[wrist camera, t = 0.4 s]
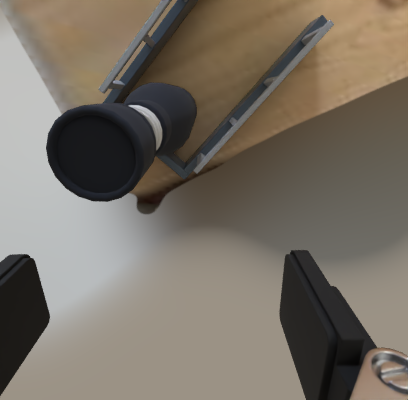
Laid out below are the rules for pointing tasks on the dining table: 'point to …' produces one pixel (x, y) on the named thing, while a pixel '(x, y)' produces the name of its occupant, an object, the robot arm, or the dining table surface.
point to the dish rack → (243, 108)
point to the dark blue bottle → (118, 140)
